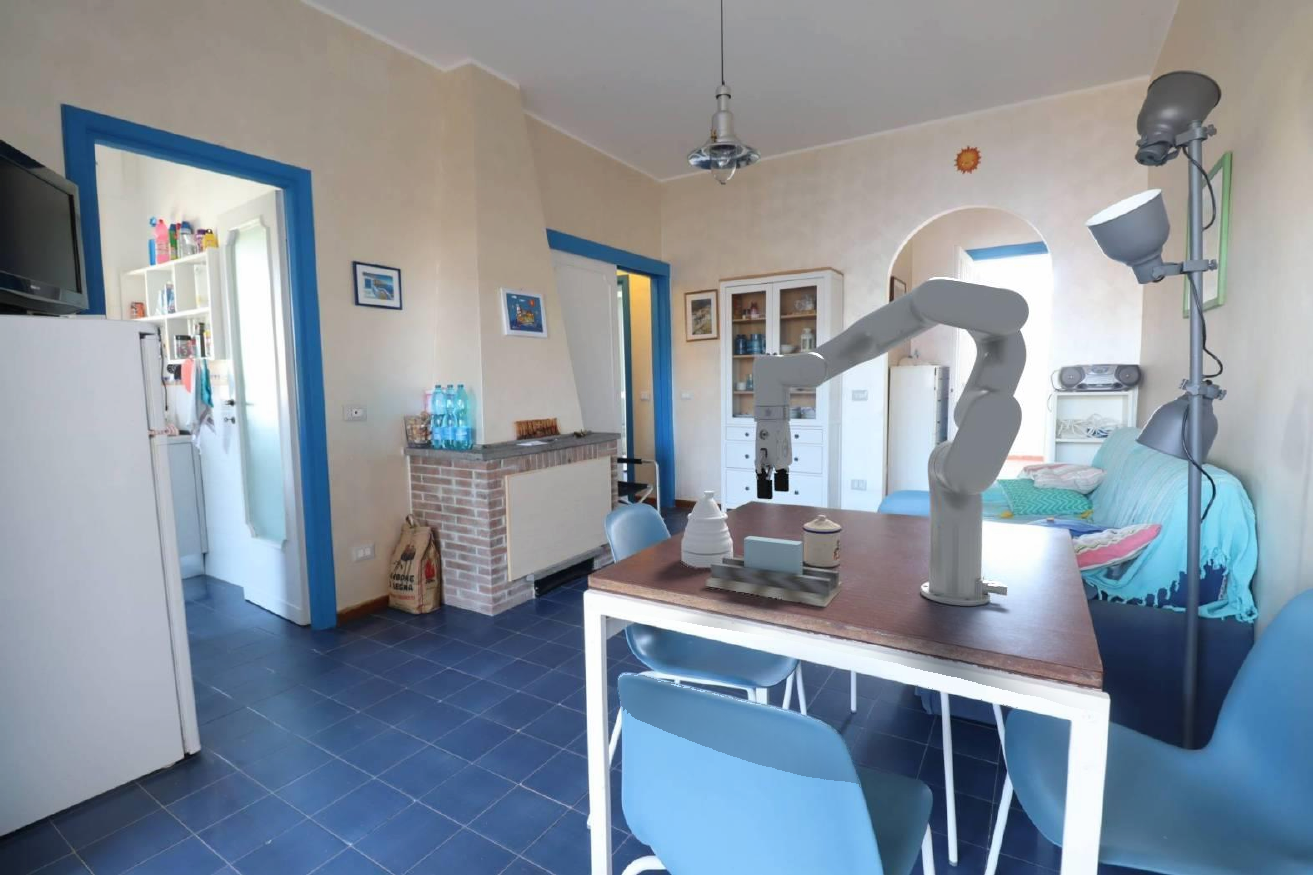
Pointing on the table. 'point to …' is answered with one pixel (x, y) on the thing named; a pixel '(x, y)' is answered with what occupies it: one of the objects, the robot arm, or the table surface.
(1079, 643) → the table surface
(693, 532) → the honey pot
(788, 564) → the door panel
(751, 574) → the track board
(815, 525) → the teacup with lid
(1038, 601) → the table surface
